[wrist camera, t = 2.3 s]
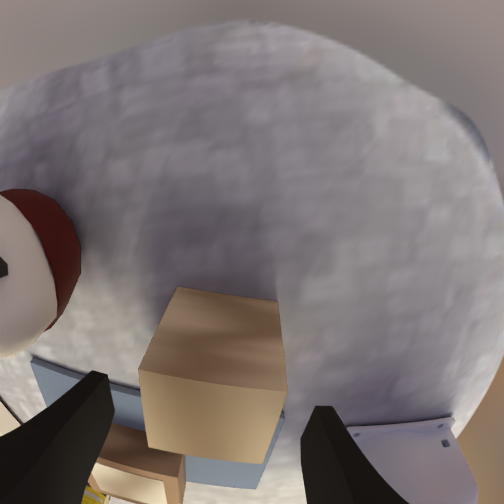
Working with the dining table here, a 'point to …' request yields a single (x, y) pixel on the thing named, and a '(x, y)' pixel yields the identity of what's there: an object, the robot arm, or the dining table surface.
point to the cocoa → (34, 267)
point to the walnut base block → (138, 469)
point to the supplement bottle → (94, 496)
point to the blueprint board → (131, 415)
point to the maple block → (214, 377)
